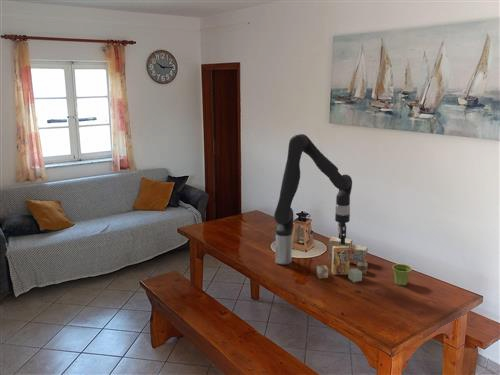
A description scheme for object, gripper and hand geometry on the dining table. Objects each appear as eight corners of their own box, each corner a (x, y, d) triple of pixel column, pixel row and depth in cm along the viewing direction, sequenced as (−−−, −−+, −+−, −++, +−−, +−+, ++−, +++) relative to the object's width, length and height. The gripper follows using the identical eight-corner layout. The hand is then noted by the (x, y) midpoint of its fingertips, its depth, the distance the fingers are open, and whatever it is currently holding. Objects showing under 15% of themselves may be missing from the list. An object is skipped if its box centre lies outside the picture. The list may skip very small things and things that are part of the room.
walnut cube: (356, 273, 242) (357, 265, 241) (357, 270, 247) (358, 261, 246) (366, 275, 241) (366, 266, 239) (366, 271, 245) (367, 262, 244)
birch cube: (318, 278, 237) (319, 269, 236) (316, 274, 242) (316, 265, 241) (328, 277, 238) (328, 269, 236) (325, 273, 242) (325, 265, 241)
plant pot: (401, 288, 225) (402, 273, 222) (387, 281, 233) (388, 266, 231) (414, 284, 229) (415, 269, 227) (400, 277, 237) (401, 262, 235)
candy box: (347, 271, 245) (348, 245, 241) (349, 274, 241) (350, 248, 237) (331, 271, 245) (332, 245, 241) (332, 275, 241) (334, 248, 237)
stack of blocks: (367, 262, 258) (368, 242, 255) (364, 266, 252) (365, 245, 249) (331, 255, 267) (332, 236, 264) (328, 259, 262) (328, 239, 259)
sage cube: (353, 282, 232) (354, 273, 231) (348, 278, 237) (348, 269, 236) (361, 280, 234) (362, 271, 233) (356, 276, 239) (356, 268, 237)
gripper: (334, 208, 242) (333, 236, 246) (336, 216, 228) (336, 246, 232) (348, 208, 241) (347, 236, 245) (351, 216, 227) (350, 246, 231)
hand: (341, 241), depth 238 cm, fingers open, 8 cm apart
